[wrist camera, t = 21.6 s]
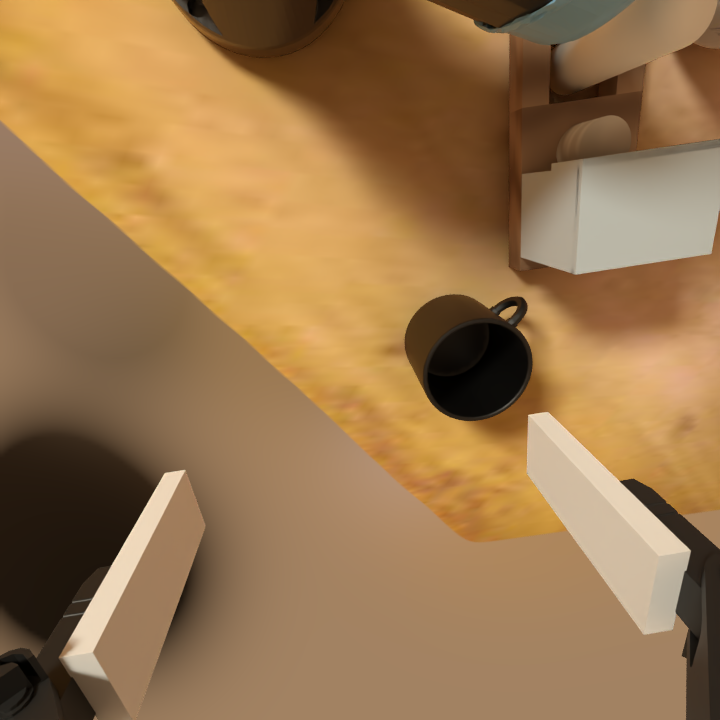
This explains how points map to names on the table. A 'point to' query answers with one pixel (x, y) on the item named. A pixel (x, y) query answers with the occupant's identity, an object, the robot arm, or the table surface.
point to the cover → (622, 208)
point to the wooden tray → (561, 126)
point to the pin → (628, 42)
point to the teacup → (712, 32)
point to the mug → (469, 355)
